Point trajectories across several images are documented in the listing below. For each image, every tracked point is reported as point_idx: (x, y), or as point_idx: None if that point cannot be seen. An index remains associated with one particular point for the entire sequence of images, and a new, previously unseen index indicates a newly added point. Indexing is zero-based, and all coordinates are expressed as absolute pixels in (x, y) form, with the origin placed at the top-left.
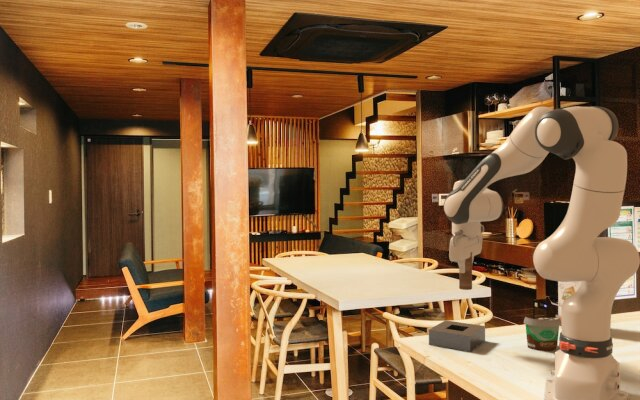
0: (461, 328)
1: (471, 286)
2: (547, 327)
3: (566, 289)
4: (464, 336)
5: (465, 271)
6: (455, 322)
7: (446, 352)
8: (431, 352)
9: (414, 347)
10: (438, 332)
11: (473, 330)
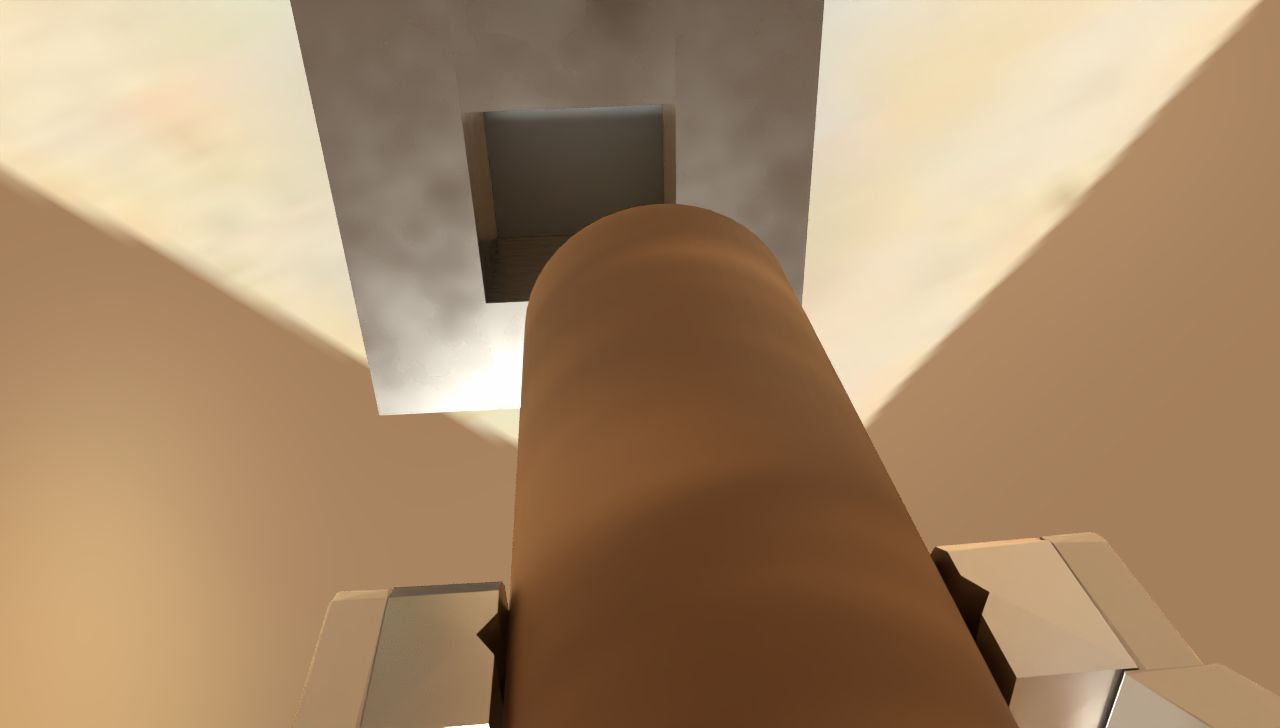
0: (475, 192)
1: (677, 228)
2: None
3: None
4: (818, 15)
5: (1017, 555)
6: (383, 308)
7: (904, 113)
8: (960, 216)
9: (893, 373)
10: (798, 298)
11: (565, 11)
